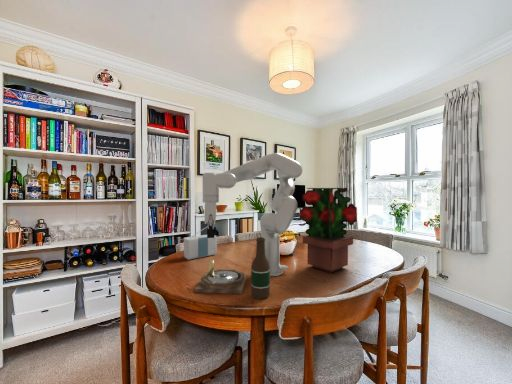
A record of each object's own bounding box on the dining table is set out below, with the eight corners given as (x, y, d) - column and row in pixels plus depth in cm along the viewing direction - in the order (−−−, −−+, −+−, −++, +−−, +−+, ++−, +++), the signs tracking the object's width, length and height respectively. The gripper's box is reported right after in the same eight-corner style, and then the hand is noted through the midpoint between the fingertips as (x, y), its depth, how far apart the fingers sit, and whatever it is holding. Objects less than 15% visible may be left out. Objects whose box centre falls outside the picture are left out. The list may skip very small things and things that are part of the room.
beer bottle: (269, 291, 105) (269, 236, 105) (270, 299, 97) (270, 239, 97) (251, 291, 105) (251, 236, 104) (251, 299, 97) (251, 240, 97)
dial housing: (246, 276, 122) (246, 268, 122) (241, 293, 103) (241, 284, 102) (207, 275, 124) (207, 267, 124) (195, 292, 104) (195, 283, 104)
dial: (239, 275, 120) (239, 257, 120) (235, 286, 106) (235, 266, 106) (211, 274, 121) (212, 256, 120) (204, 285, 107) (204, 265, 106)
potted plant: (333, 278, 121) (334, 187, 120) (299, 266, 138) (299, 187, 137) (356, 268, 135) (356, 188, 134) (322, 259, 152) (323, 188, 152)
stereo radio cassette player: (187, 261, 149) (187, 228, 148) (182, 258, 155) (182, 226, 155) (217, 255, 162) (217, 225, 162) (211, 252, 168) (211, 223, 168)
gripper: (203, 198, 121) (203, 232, 121) (201, 200, 104) (201, 239, 104) (218, 198, 123) (218, 232, 123) (219, 200, 106) (219, 239, 106)
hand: (210, 235), depth 114 cm, fingers open, 9 cm apart
